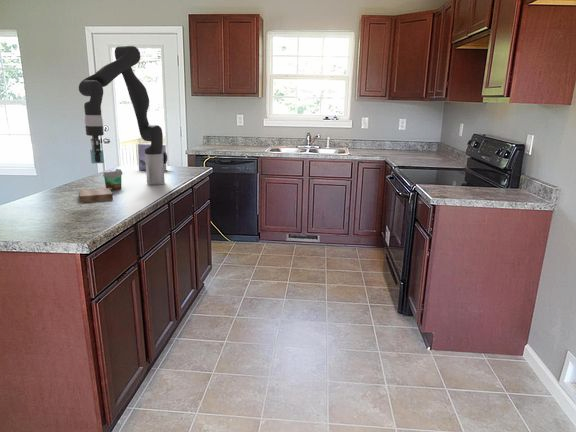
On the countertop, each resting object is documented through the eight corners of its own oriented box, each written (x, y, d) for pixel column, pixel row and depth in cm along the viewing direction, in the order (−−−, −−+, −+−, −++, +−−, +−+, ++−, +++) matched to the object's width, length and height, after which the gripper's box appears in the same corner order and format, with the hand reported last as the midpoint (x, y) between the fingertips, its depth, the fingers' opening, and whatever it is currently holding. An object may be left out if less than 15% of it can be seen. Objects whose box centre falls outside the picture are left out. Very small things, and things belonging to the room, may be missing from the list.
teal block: (102, 161, 204) (101, 149, 202) (103, 163, 200) (102, 150, 198) (91, 162, 201) (90, 149, 200) (92, 163, 197) (91, 150, 196)
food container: (115, 192, 219) (113, 173, 216) (104, 191, 220) (102, 172, 217) (128, 187, 231) (126, 169, 228) (118, 186, 232) (116, 168, 229)
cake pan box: (168, 169, 290) (166, 144, 285) (165, 171, 285) (164, 144, 280) (141, 169, 292) (139, 143, 287) (138, 170, 287) (136, 144, 282)
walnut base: (109, 194, 214) (108, 188, 213) (113, 199, 202) (112, 193, 201) (78, 196, 207) (78, 190, 206) (80, 202, 195) (80, 196, 194)
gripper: (104, 125, 192) (107, 162, 196) (101, 124, 204) (103, 159, 208) (86, 125, 188) (90, 163, 192) (83, 124, 200) (87, 159, 204)
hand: (97, 161), depth 200 cm, fingers closed on teal block, 5 cm apart
